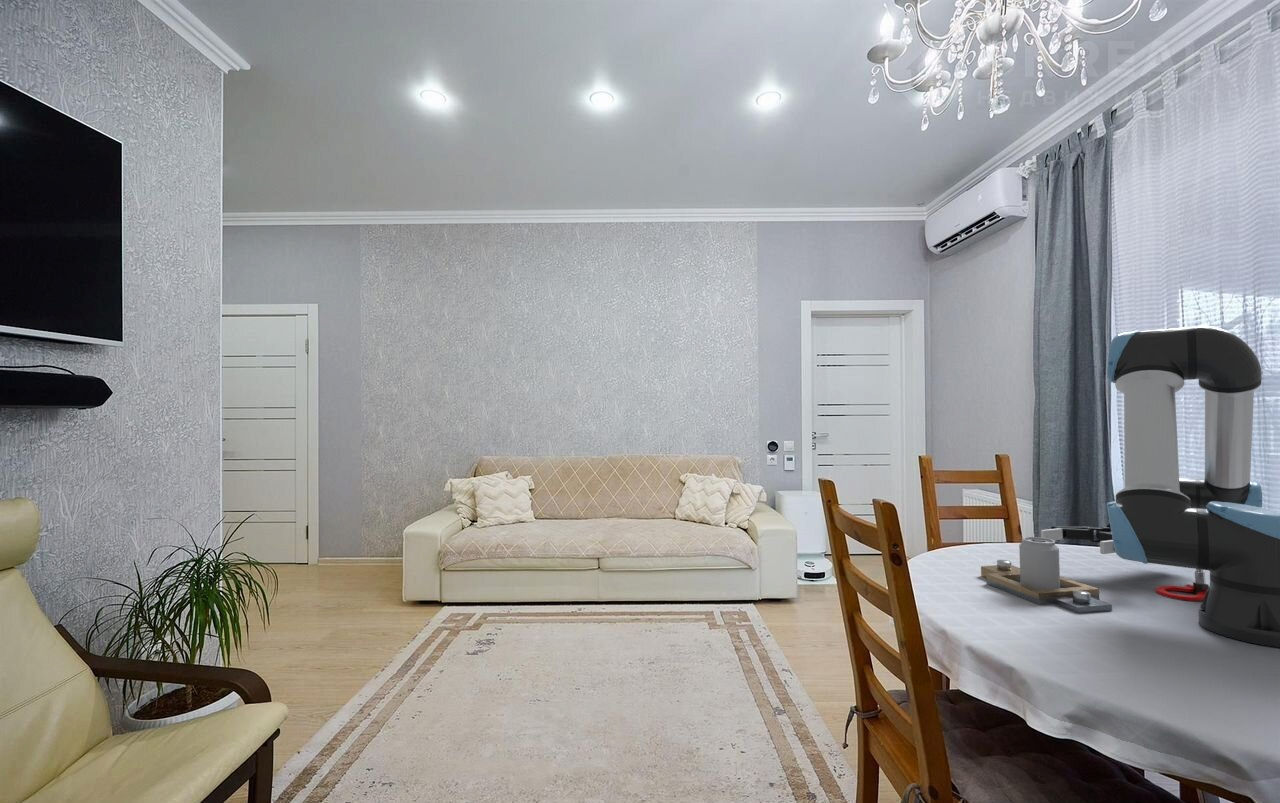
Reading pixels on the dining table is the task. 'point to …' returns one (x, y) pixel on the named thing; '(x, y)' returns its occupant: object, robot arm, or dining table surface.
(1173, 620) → the dining table surface
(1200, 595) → the tow hook
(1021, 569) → the can
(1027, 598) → the chain end lower
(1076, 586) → the chain end upper
